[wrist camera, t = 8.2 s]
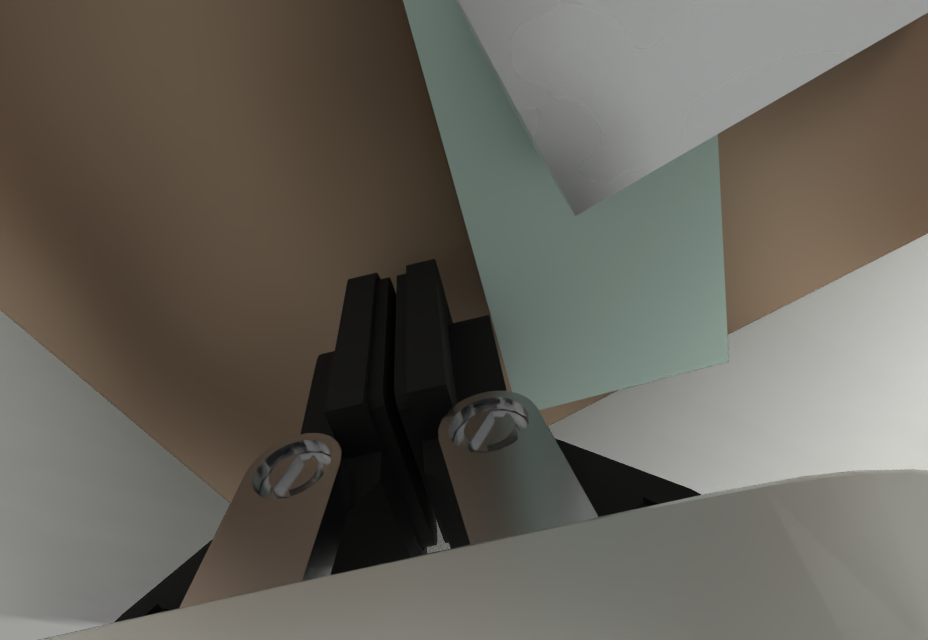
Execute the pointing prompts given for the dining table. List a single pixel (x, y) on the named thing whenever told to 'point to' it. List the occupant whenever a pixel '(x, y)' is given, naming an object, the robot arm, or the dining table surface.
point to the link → (575, 241)
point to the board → (341, 197)
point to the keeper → (657, 72)
